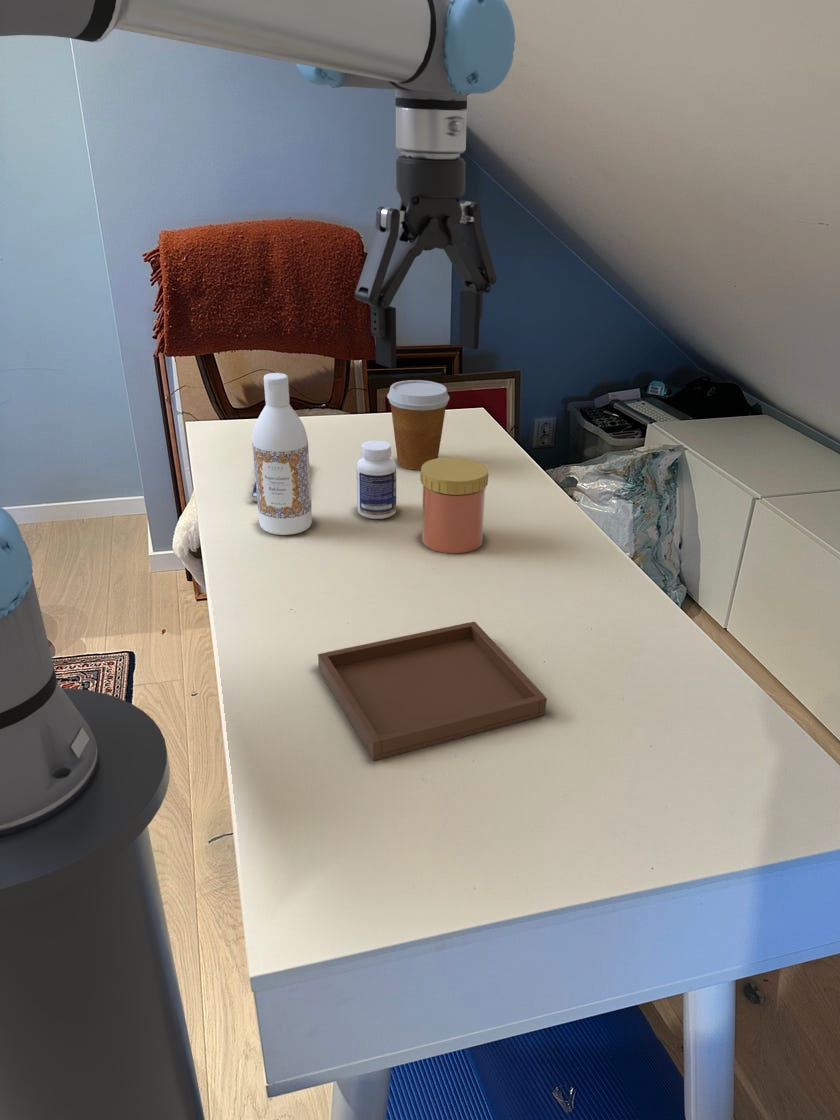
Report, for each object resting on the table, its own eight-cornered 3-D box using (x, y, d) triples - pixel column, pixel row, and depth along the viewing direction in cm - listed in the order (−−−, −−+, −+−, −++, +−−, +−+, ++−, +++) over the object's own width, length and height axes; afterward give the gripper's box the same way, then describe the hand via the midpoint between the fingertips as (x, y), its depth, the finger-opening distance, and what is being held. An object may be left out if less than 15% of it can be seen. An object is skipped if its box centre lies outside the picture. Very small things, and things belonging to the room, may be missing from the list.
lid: (437, 498, 109) (437, 484, 108) (410, 474, 116) (410, 461, 115) (499, 489, 113) (500, 476, 112) (469, 466, 119) (470, 453, 118)
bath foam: (253, 534, 117) (239, 381, 106) (266, 513, 123) (254, 366, 112) (306, 538, 117) (297, 385, 106) (316, 516, 123) (309, 370, 112)
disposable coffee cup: (375, 460, 142) (374, 385, 136) (421, 448, 148) (422, 376, 142) (413, 478, 136) (413, 400, 130) (459, 465, 142) (462, 390, 136)
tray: (373, 760, 79) (373, 743, 78) (318, 670, 90) (317, 653, 89) (545, 715, 86) (547, 698, 85) (473, 636, 98) (474, 621, 97)
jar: (436, 557, 114) (438, 487, 109) (412, 532, 120) (413, 465, 115) (492, 548, 117) (496, 479, 112) (466, 524, 123) (469, 458, 118)
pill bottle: (402, 516, 124) (402, 449, 119) (366, 522, 122) (364, 453, 117) (387, 502, 128) (387, 436, 123) (352, 507, 126) (350, 440, 121)
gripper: (364, 160, 86) (369, 381, 97) (533, 155, 101) (521, 346, 113) (315, 154, 90) (326, 366, 101) (485, 150, 106) (478, 334, 117)
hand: (428, 356), depth 107 cm, fingers open, 13 cm apart
